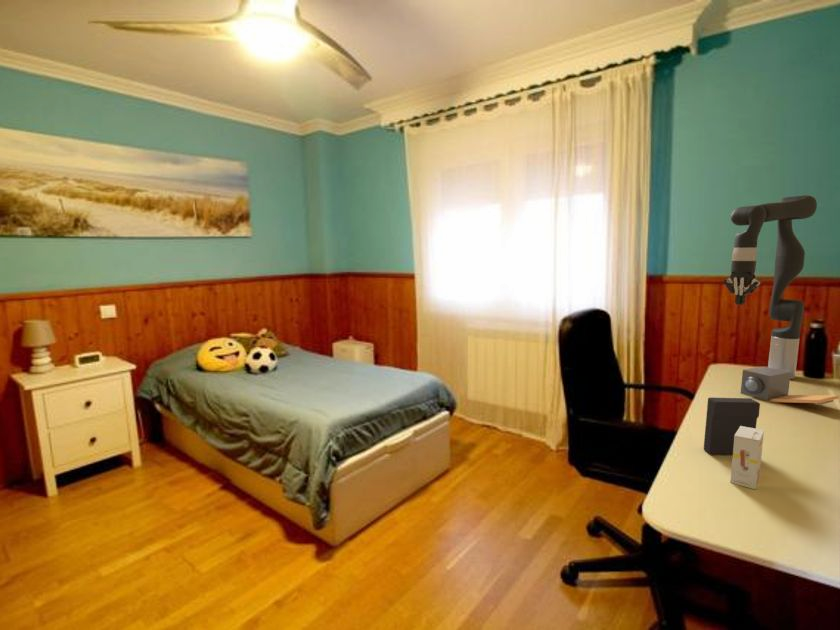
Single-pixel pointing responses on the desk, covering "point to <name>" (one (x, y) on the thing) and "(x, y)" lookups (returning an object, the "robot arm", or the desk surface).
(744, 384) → the camera housing
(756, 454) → the ink box
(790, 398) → the side door
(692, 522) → the desk surface
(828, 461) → the desk surface
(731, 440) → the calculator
